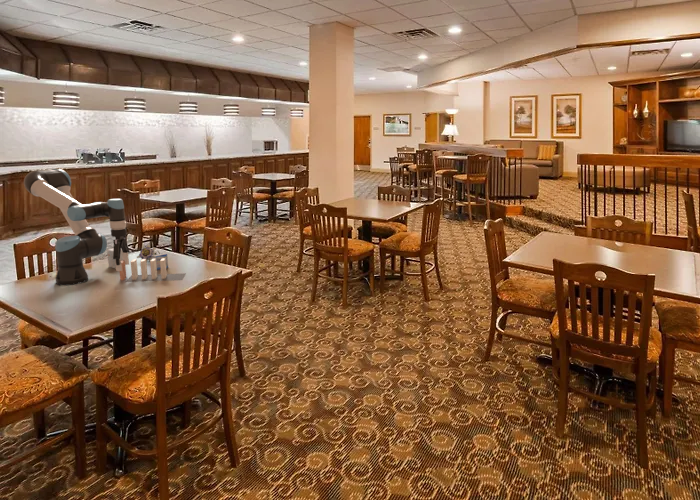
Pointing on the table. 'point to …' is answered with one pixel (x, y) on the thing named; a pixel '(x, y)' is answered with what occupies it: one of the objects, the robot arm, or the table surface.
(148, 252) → the passion flower
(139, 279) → the domino mat
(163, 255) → the medicine box
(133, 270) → the domino
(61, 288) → the table surface
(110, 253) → the small box
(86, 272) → the robot arm
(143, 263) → the domino
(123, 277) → the terracotta domino
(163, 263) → the domino
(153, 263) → the domino
